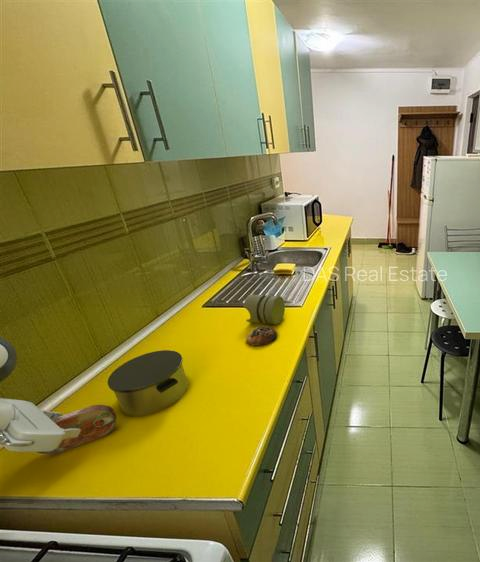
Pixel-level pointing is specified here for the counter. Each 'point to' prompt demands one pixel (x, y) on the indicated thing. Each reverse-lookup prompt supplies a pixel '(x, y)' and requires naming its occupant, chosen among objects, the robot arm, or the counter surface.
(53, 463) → the counter surface
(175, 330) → the counter surface
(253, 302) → the piston
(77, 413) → the tin
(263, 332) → the bread roll
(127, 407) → the stockpot
